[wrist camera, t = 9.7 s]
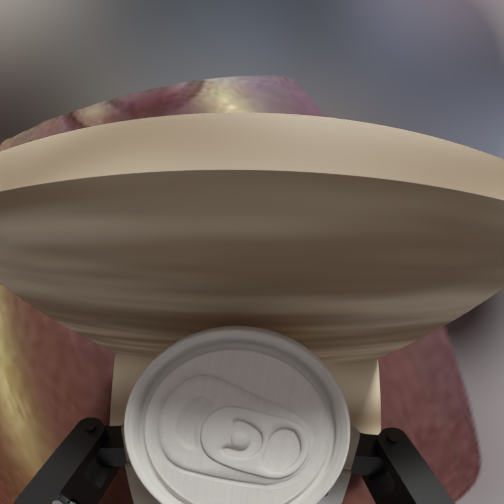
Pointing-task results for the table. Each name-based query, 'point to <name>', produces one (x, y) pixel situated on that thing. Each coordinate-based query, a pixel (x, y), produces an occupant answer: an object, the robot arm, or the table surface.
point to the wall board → (252, 237)
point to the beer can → (237, 421)
